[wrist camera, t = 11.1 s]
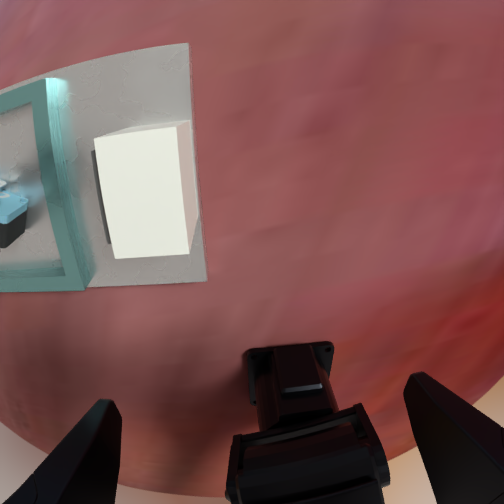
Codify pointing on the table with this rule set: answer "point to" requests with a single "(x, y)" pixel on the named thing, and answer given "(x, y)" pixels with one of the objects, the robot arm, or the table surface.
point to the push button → (11, 216)
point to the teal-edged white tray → (88, 168)
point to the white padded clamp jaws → (147, 189)
